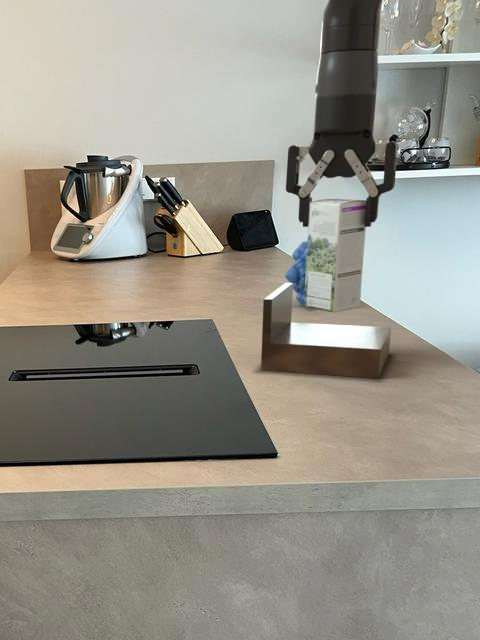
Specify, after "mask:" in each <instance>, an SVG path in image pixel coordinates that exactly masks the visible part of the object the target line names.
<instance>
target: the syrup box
mask: <svg viewBox="0 0 480 640" xmlns="http://www.w3.org/2000/svg"><path fill="white" fill-rule="evenodd" d="M365 212H366V199H346V198H345V199H343V198H342V199H341V198H323V199H318V200H314V201H313V200H312V202H309V216H308V227H307V239H306V241H307V259H306V280H305V300H304V306H303V307H304V308H308V309H314V310H317V311H323V312H327V313H328V312H329V313H341V312H342V313H343V312H347V311H351V310H355V309H360V307H361V296H362V295H361V294H362V281H363V280H362V279H363V268H364V256H365V255H364V254H365V244H366V243H365V242H366V231H367V229H366V228H367V227H365V226H364V224H365Z"/></svg>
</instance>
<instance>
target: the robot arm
mask: <svg viewBox="0 0 480 640" xmlns="http://www.w3.org/2000/svg"><path fill="white" fill-rule="evenodd" d="M382 4H383V0H328V1H327V3H326V6H325V8H324V11H323V16H322V20H321V21H322V22H321V31H320V32H321V35H320V48H319V49H320V50H319V54H320V55H319V63H318V67H317V72H316V84H315V87H314V88H315V89H314V94H315V102H314V103H315V105H314V122H313V137H312V141H311V143H310V145H298V144H293V145H290V146H289V147H288V149H287V162H286V163H287V164H286V177H285V191H286V193H288V194H293V195H294V196H297V197H298V201H299V202H298V221H299V223H302V227H303V228H308V216H309V202H313V197H311V194H312V193H313V191H314V190H315V189H316V187H317V186H318V184H319V183H320V182H321V180H323V178H324V177H325V178H326V179H335V178H337V177H341V178H344V179H348V178H353V177H355V176H356V177H357V179H358V180H359V182H360V184H362V186H363V187H364V189H365V191H366V193H367V194H368V196H367V197H366V199H365V200H366V212H365V224H364V226H365V227H366V228H371V227H372V225H373V223H375V222H376V221H377V219H378V215H379V204H380V203H379V202H380V197H381V196H382V194H385V193H388V192H391V191H392V190H393V189H394V188H395V186H396V172H397V160H398V148H399V147H398V146H399V145H398V143H397V142H396V141H393V140H392V141H388V142H383V143H382V142H381V143H376V142H375V139H374V127H375V115H376V103H377V90H378V79H379V60H378V59H379V56H378V55H379V52H378V51H379V42H380V27H381V10H382ZM375 153H377V154H378V155H379V159H380V160H381V161H384V167H383V169H384V170H383V181H382V183H380V184H377V181H376V180H375V178H374V176H373V173H372V172H371V171H370V169H369V168H368V165H367V164H368V162H369V161H370V159H372V157H373V156H374V154H375ZM307 155H309V156H310V159H311V160H312V161H313V164H315V166H314V169H313V170H312V171H311V173H310V174H309V175H308V177H307V179H306V181H305V182H304V183H303V185H302V184H299V181H300V167H301V166H300V165H301V163H303V162H305V159H306V156H307Z"/></svg>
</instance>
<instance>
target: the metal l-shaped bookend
mask: <svg viewBox="0 0 480 640" xmlns="http://www.w3.org/2000/svg"><path fill="white" fill-rule="evenodd" d="M293 291H294V289H293V283H290V282H284V283H283V284H282V285H281V286H279V287H278V288H276V289H275V290H274V291H273V292H271V293H270V294H268V295H267V296H266V297H264V298H263V299H262V300H263V302H262V303H263V304H262V305H263V306H262V329H261V331H262V332H261V355H260V356H261V358H260V360H261V362H260V371H268V372H269V371H270V372H280V373H281V372H282V373H295V374H296V373H298V374H308V375H322V376H337V377H349V378H351V377H352V378H363V379H364V378H365V379H379V377H380V375H381V372H382V371H383V368H384V366H385V364H386V361H387V359H388V356H389V354H390V345H391V335H392V327H390V326H389V327H388V326H372V325H371V326H369V325H350V324H348V325H347V324H331V323H329V324H328V323H310V322H308V323H306V322H292V315H293V313H292V312H293Z"/></svg>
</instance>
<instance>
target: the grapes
mask: <svg viewBox="0 0 480 640" xmlns="http://www.w3.org/2000/svg"><path fill="white" fill-rule="evenodd" d="M291 256H292V258H293V259H294V261H295V262H294V263H292V265H291V267H289V269H287V271H286V272H285V274H284V277H285V279H286V280H287V281H288V283H293V291H294V292H295V293H296V297H295V299H296V301H297V302H298V303H299V304H300V305H301V306H303V307H304V300H305V280H306V259H307V240H304V241H302V242H301V243H299V245H298V247H296V249H294V251H293V253H292V255H291Z"/></svg>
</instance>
